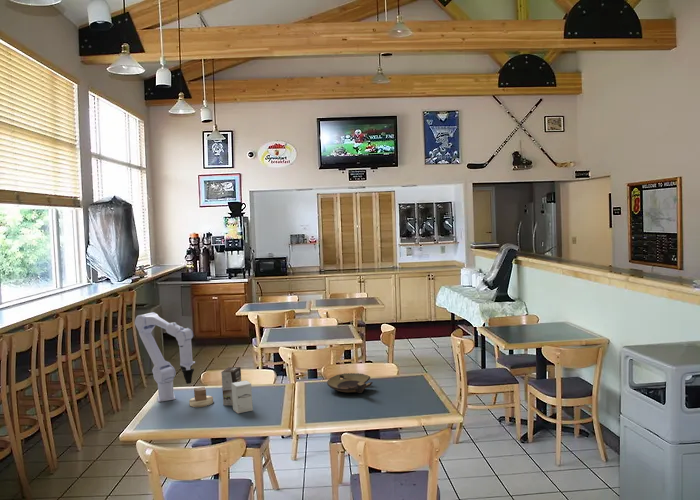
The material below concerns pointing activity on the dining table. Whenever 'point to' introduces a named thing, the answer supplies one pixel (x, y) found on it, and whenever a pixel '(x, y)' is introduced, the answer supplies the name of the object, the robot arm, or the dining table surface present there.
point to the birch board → (201, 402)
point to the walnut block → (200, 394)
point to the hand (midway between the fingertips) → (187, 381)
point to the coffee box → (229, 383)
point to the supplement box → (242, 396)
